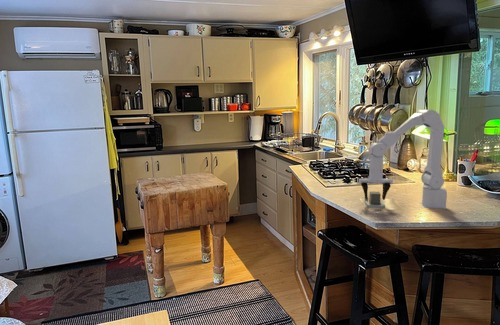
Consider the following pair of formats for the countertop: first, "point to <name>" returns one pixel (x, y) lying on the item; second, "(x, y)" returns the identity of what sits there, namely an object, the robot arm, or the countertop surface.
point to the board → (389, 204)
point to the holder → (375, 205)
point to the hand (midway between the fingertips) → (374, 199)
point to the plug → (374, 198)
